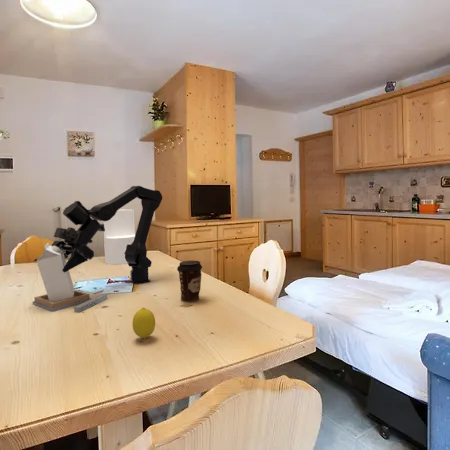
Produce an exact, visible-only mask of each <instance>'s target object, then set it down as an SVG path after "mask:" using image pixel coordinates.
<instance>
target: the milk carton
mask: <svg viewBox="0 0 450 450" xmlns="http://www.w3.org/2000/svg"><path fill="white" fill-rule="evenodd" d="M36 263H37V267H38V270H39V273H40V276H41V279H42V282H43V285H44V288H45V291H46V294H47V295H48V298H49V301H51V302H58V301H61V300H65V299H68V298H72V297H73V295H74V292H75V290H76V289H75V286H74V283H73V280H72V278H71V273H70V270H68V271H67V272H63V271H62V270H63V268H64V266H65V265H66V263H67V258H66V259H65V256H64V253H63V251H62V250H60V248H59V247H57V246H53V247H52V245H50V242H47V243H46V244H45V245H44V251H43V252H42V254H41V255H40V256H39V257H38V259H37V260H36Z"/></svg>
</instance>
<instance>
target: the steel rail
mask: <svg viewBox="0 0 450 450" xmlns="http://www.w3.org/2000/svg"><path fill="white" fill-rule="evenodd" d="M106 300H108V294H103V293H102V294H99V295H98V296H95V297H93V298H92V299H91V300H89V301H86V302H84V303H81V304H78V305H74V306H73V311H74V312H75V313H81V312H84V311H85V310H88V309H90V308H91V307H93V306H96V305H97V304H99V303H102V302H104V301H106Z"/></svg>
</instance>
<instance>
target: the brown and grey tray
mask: <svg viewBox="0 0 450 450" xmlns="http://www.w3.org/2000/svg"><path fill="white" fill-rule="evenodd" d="M91 299H93V298H91V297H90V294H89V293H86V292H83V291H79V290H76V289H75V292H74V295H73V297H72V298H68V299H65V300H61V301H58V302H51V301H49V298H48V295H47V293H46V294H42V295H37V296H34V301H32V303H31V304H32V305H34V306H37V307H38V308H41V309H44V310H46V311H48V312H52V313H53V312H56V311H60V310H64V309H67V308H70V307H75V306H78V305H80V304H82V303H84V302H86V301H89V300H91Z"/></svg>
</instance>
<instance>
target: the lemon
mask: <svg viewBox="0 0 450 450" xmlns="http://www.w3.org/2000/svg"><path fill="white" fill-rule="evenodd" d="M155 327H156V318H155V315H154V313H153V311H151V310H150V309H148V308H146V307H141V308H140V309H139V310H136V312H135V313H134V315H133V318H132V329H133V333H135V335H136V336H137V337H139V338H142V339H144V340H147V338H148V337H149V336H151V335H152V334H153V333H154V331H155Z"/></svg>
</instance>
